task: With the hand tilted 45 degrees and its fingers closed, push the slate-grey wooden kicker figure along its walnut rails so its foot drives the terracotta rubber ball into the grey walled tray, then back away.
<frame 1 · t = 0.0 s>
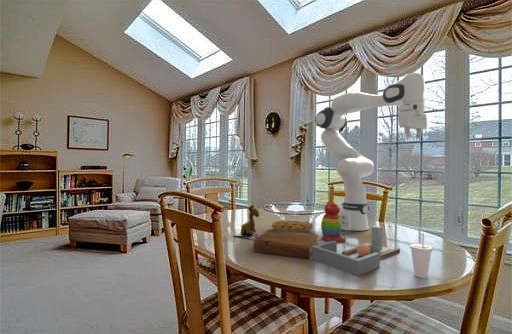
hand: (413, 138, 134), 48 cm above the table, tool pointing down, fingers open, 8 cm apart
kicker: (376, 239, 118), point 5 cm above the table, slide at 0.0 cm
grey walled tray: (345, 262, 106), on the table
stacking bear: (331, 240, 137), on the table
stuffed giraffe: (249, 235, 147), on the table
lane: (371, 253, 116), on the table
ball: (363, 250, 113), point 2 cm above the table
pie: (292, 232, 153), on the table
diary: (287, 250, 122), on the table
smoothie: (420, 276, 94), on the table
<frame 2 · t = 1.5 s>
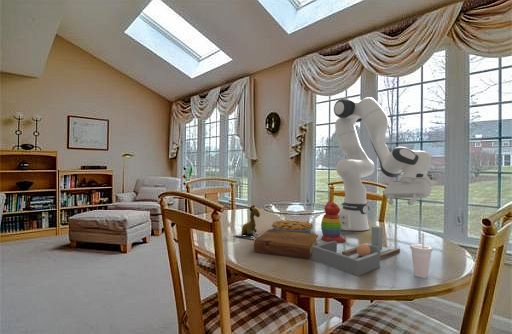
hand: (399, 203, 125), 19 cm above the table, tool tilted 45°, fingers open, 8 cm apart
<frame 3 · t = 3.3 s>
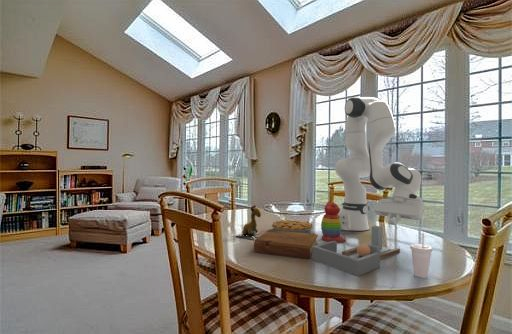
hand: (391, 223, 123), 10 cm above the table, tool tilted 45°, fingers closed
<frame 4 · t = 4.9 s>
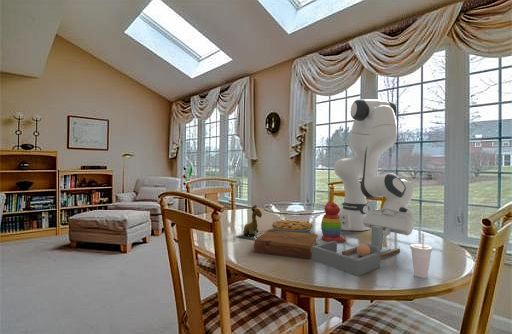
hand: (380, 238, 119), 5 cm above the table, tool tilted 45°, fingers closed, pressing on kicker
kicker: (376, 239, 118), point 5 cm above the table, slide at 0.1 cm, touching gripper
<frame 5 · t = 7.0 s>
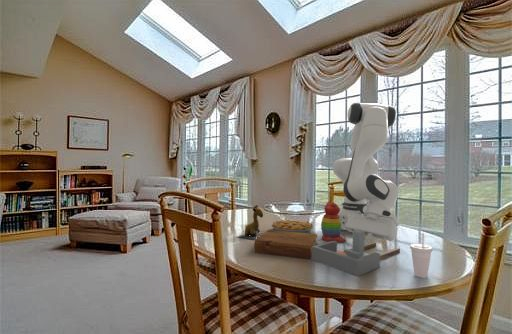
hand: (361, 243, 112), 5 cm above the table, tool tilted 45°, fingers closed, pressing on kicker
kicker: (357, 244, 110), point 5 cm above the table, slide at 13.0 cm, touching gripper
ball: (340, 257, 104), point 2 cm above the table, tilted 31°
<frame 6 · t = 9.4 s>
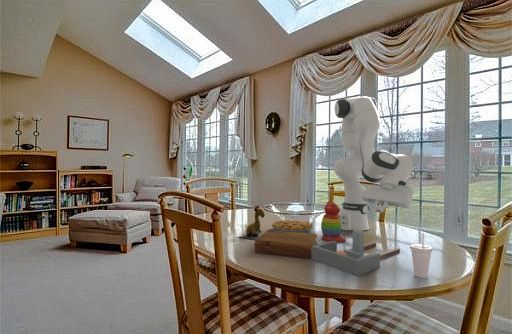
hand: (378, 211, 118), 17 cm above the table, tool tilted 45°, fingers closed
kicker: (357, 244, 110), point 5 cm above the table, slide at 13.0 cm
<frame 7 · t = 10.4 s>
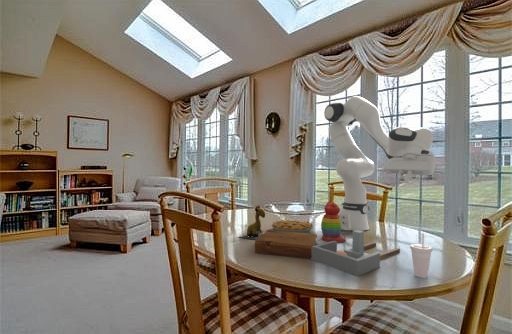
hand: (402, 180, 122), 29 cm above the table, tool tilted 45°, fingers closed
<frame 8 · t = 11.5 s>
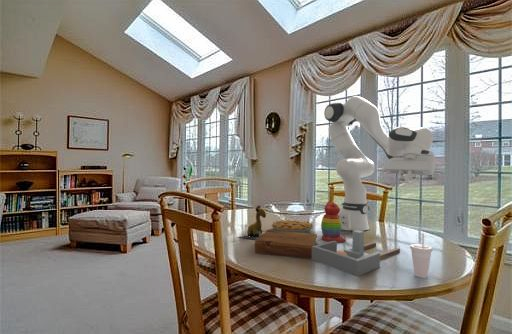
hand: (402, 180, 122), 29 cm above the table, tool tilted 45°, fingers closed
at the end: ball inside the target area (2.4 cm from its centre), point 2.5 cm above the table; kicker slide at 13.0 cm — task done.
